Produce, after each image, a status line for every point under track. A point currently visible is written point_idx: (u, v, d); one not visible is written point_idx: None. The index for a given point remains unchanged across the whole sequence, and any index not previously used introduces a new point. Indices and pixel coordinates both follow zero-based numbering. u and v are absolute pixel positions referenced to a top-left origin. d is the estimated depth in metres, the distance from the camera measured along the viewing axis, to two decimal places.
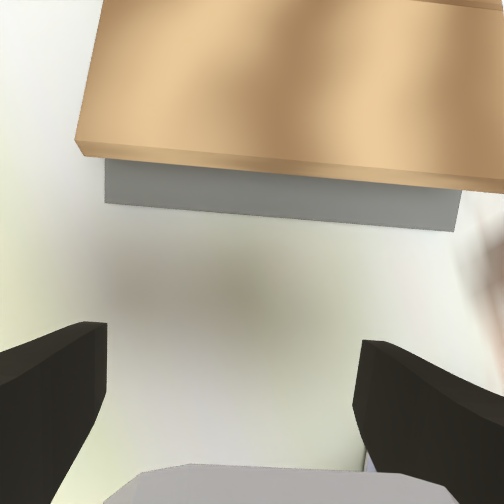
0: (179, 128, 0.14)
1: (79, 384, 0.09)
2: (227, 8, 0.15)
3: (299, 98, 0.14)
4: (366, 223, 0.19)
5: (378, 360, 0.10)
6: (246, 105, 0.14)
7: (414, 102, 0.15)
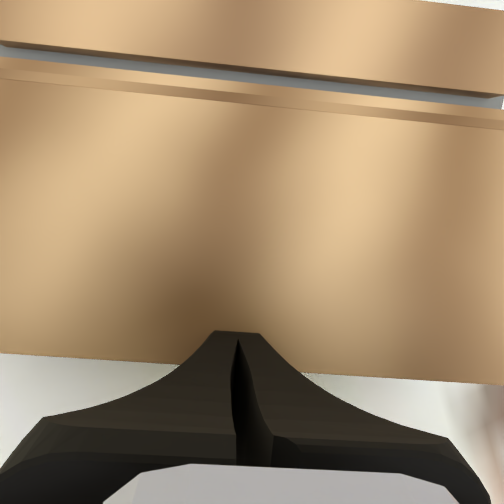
0: (71, 326, 0.11)
1: (231, 393, 0.10)
2: (139, 141, 0.12)
3: (227, 275, 0.11)
4: None
5: (238, 351, 0.10)
6: (157, 290, 0.11)
7: (375, 276, 0.12)
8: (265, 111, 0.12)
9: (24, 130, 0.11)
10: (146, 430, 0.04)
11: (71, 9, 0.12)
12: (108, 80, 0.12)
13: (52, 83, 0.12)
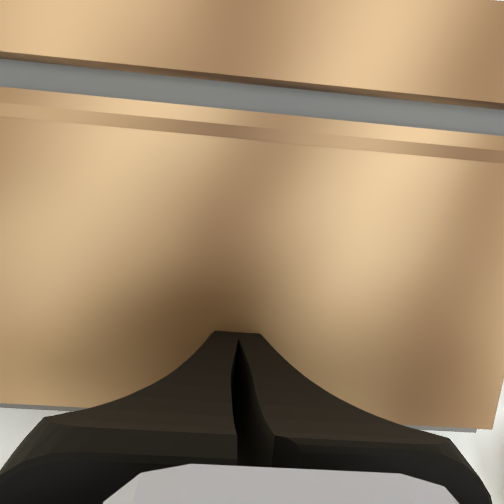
0: (70, 380, 0.11)
1: (232, 393, 0.10)
2: (120, 187, 0.10)
3: None
4: None
5: (238, 351, 0.10)
6: (152, 346, 0.11)
7: (375, 331, 0.11)
8: (266, 148, 0.10)
9: None
10: (147, 430, 0.04)
11: (29, 7, 0.09)
12: (77, 111, 0.10)
13: (11, 116, 0.10)
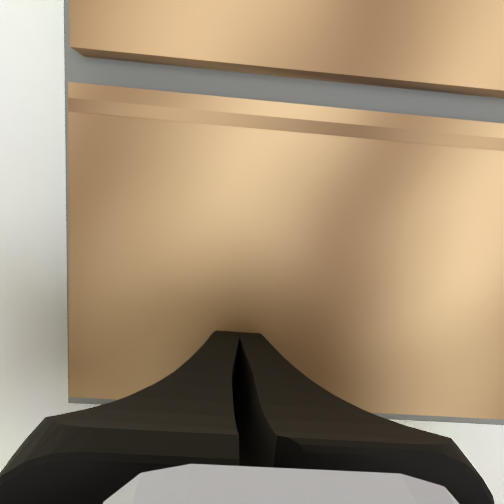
0: None
1: (232, 393, 0.10)
2: (250, 187, 0.10)
3: (341, 329, 0.11)
4: (447, 420, 0.13)
5: (239, 351, 0.10)
6: (271, 343, 0.11)
7: (489, 328, 0.11)
8: (393, 148, 0.10)
9: (123, 177, 0.10)
10: (149, 430, 0.04)
11: (171, 10, 0.10)
12: (213, 112, 0.10)
13: (148, 118, 0.10)
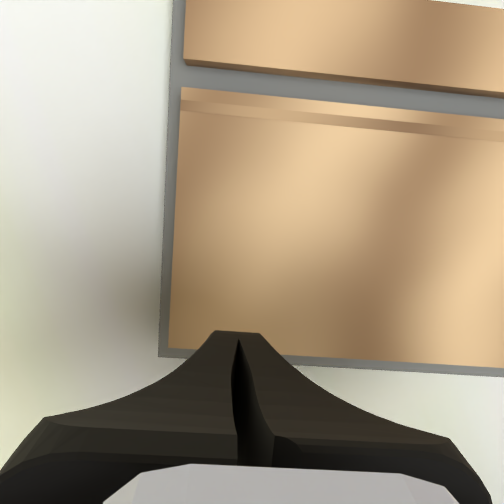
0: (268, 331, 0.14)
1: (232, 393, 0.10)
2: (324, 173, 0.13)
3: (394, 291, 0.14)
4: (475, 374, 0.16)
5: (238, 351, 0.10)
6: (336, 303, 0.14)
7: None
8: (441, 142, 0.13)
9: (222, 164, 0.12)
10: (148, 430, 0.04)
11: (266, 29, 0.12)
12: (296, 111, 0.12)
13: (244, 116, 0.12)
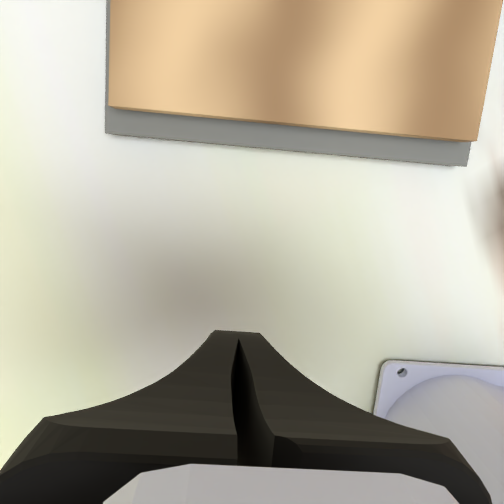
0: (191, 92, 0.17)
1: (232, 393, 0.10)
2: None
3: (295, 59, 0.16)
4: (376, 156, 0.19)
5: (238, 351, 0.10)
6: (247, 68, 0.16)
7: (397, 61, 0.17)
8: None
9: None
10: (148, 430, 0.04)
11: None
12: None
13: None
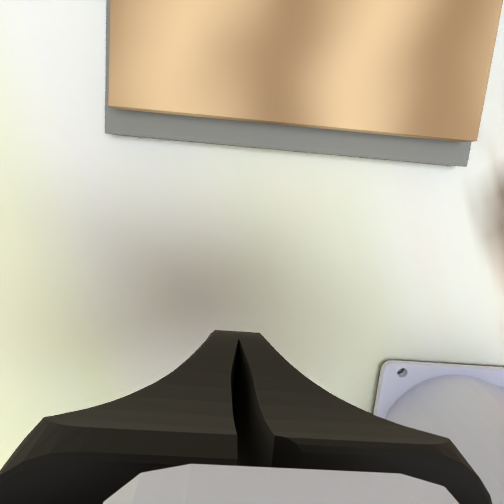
0: (191, 92, 0.17)
1: (232, 393, 0.10)
2: None
3: (295, 59, 0.16)
4: (376, 156, 0.19)
5: (238, 351, 0.10)
6: (247, 68, 0.16)
7: (397, 61, 0.17)
8: None
9: None
10: (148, 430, 0.04)
11: None
12: None
13: None
